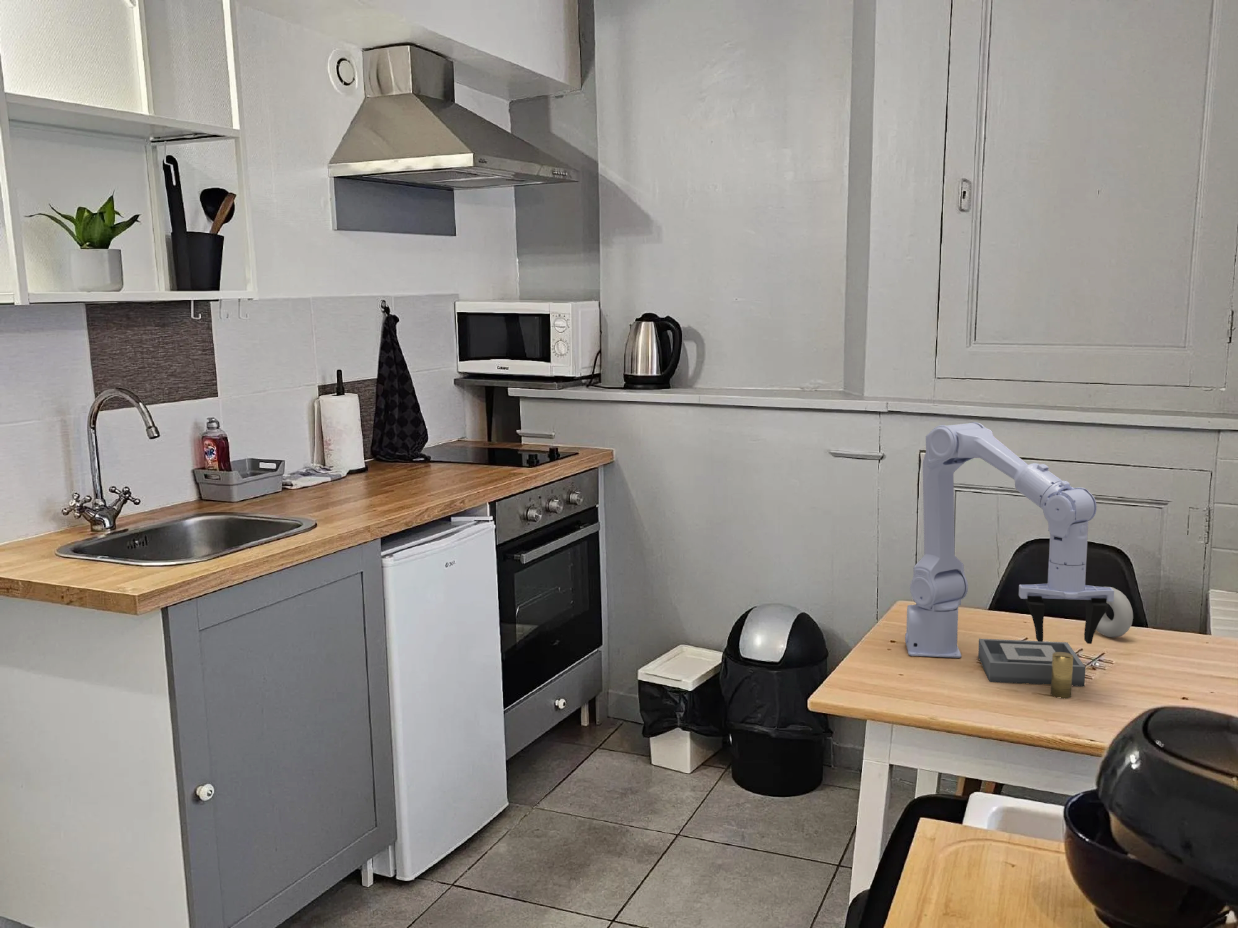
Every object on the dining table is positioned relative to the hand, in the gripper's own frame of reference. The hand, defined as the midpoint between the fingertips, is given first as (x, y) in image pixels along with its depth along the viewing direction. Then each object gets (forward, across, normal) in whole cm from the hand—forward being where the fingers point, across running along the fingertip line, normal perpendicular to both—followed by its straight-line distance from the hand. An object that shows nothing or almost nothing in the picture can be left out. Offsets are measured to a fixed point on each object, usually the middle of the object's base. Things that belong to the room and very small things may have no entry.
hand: (1063, 640), depth 177 cm
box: (+9, -3, +12) cm, 15 cm away
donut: (+10, +16, +34) cm, 39 cm away
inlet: (+9, -3, +12) cm, 15 cm away
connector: (+9, 0, 0) cm, 9 cm away
